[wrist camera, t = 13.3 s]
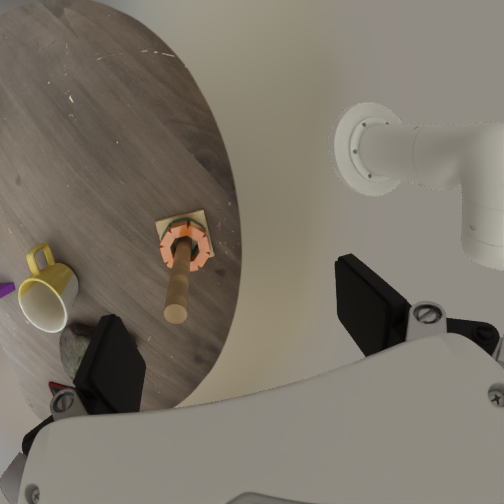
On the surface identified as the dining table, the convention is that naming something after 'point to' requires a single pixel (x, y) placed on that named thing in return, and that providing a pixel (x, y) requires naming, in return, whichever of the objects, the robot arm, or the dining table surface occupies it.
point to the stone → (75, 347)
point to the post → (181, 267)
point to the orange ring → (190, 231)
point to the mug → (48, 292)
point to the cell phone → (56, 388)
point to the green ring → (188, 224)
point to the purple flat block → (6, 289)
